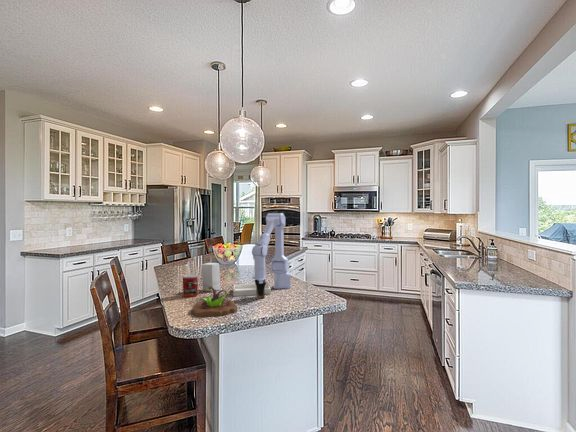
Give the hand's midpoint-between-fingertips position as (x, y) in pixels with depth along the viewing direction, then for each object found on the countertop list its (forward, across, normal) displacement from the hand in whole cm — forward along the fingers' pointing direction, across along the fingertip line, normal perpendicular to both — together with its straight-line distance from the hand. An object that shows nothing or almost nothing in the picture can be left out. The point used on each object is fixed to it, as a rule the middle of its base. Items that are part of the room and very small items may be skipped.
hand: (260, 294), depth 163 cm
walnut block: (+2, 0, 0) cm, 2 cm away
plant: (+2, +16, -22) cm, 28 cm away
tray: (+2, -13, -4) cm, 14 cm away
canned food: (+2, -12, -37) cm, 39 cm away
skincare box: (+2, -22, -27) cm, 35 cm away
